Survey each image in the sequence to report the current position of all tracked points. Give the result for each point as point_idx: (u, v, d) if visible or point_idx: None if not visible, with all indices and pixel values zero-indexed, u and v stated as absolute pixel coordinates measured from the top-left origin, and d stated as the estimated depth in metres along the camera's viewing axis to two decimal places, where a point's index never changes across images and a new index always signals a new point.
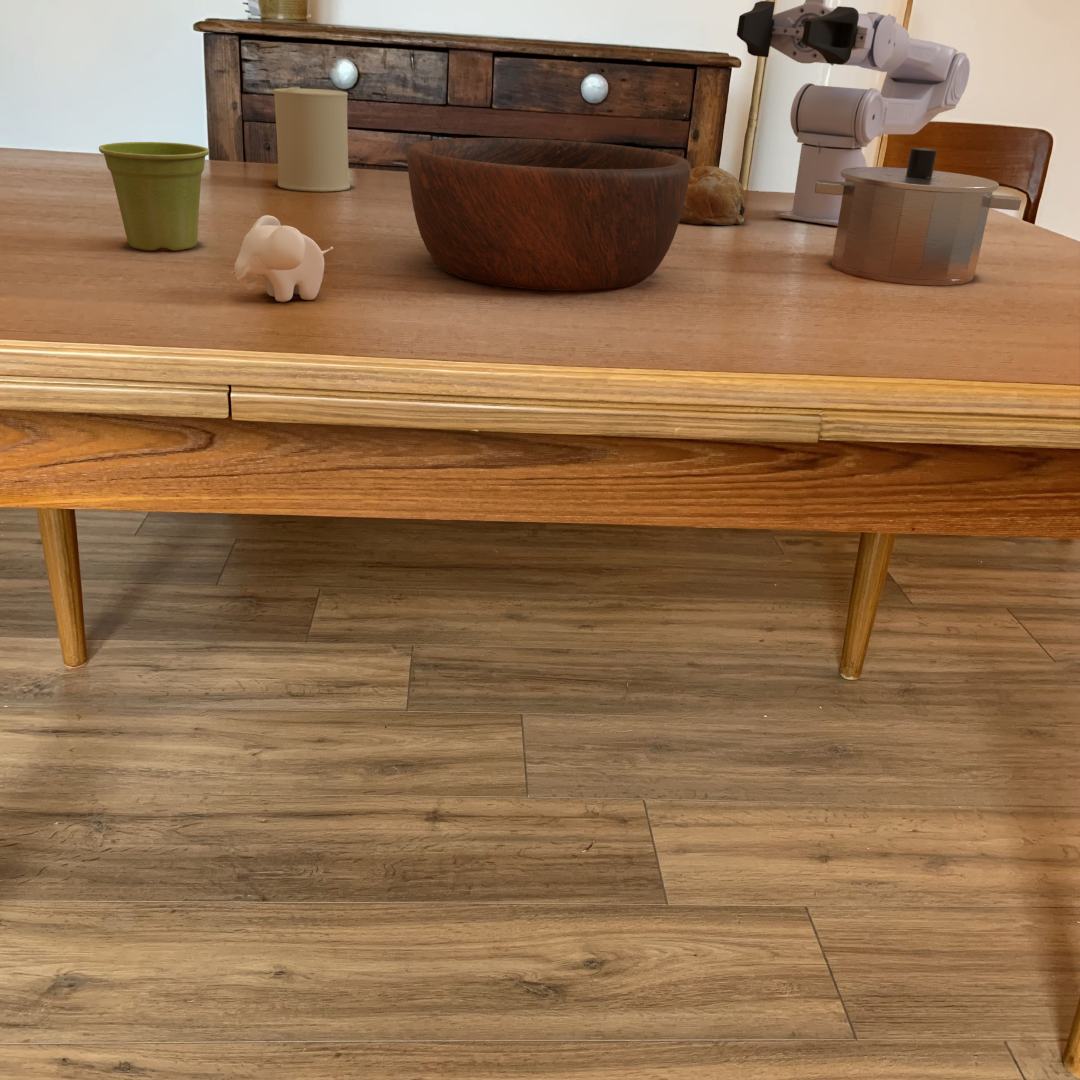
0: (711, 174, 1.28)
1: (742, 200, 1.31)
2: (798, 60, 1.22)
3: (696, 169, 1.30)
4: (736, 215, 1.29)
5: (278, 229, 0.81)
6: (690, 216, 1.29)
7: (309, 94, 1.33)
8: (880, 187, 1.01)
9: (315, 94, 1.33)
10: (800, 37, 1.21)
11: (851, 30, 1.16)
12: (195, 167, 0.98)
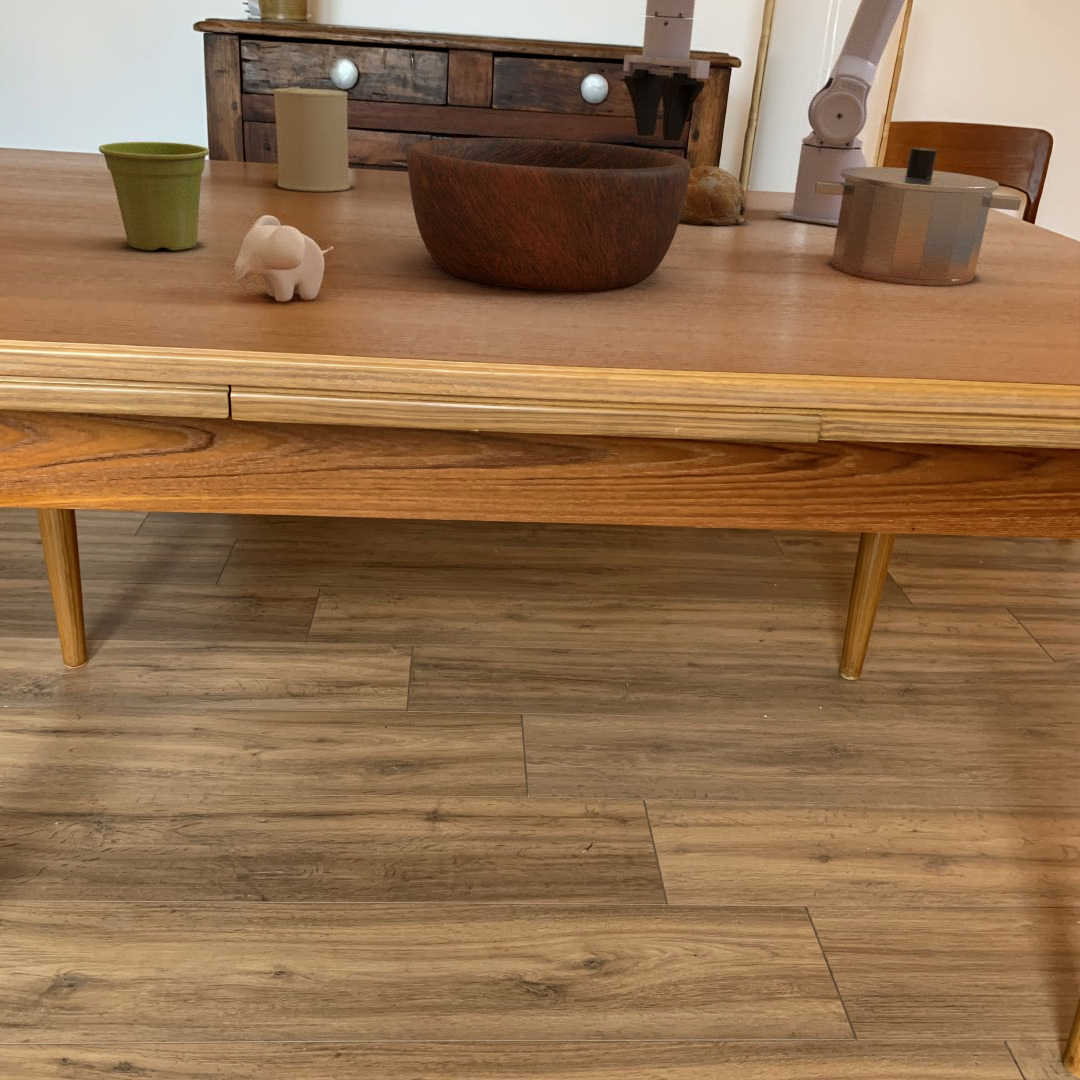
0: (711, 174, 1.28)
1: (742, 200, 1.31)
2: None
3: (696, 169, 1.30)
4: (736, 215, 1.29)
5: (278, 229, 0.81)
6: (690, 216, 1.29)
7: (309, 94, 1.33)
8: (880, 187, 1.01)
9: (315, 94, 1.33)
10: None
11: (683, 84, 1.30)
12: (195, 167, 0.98)
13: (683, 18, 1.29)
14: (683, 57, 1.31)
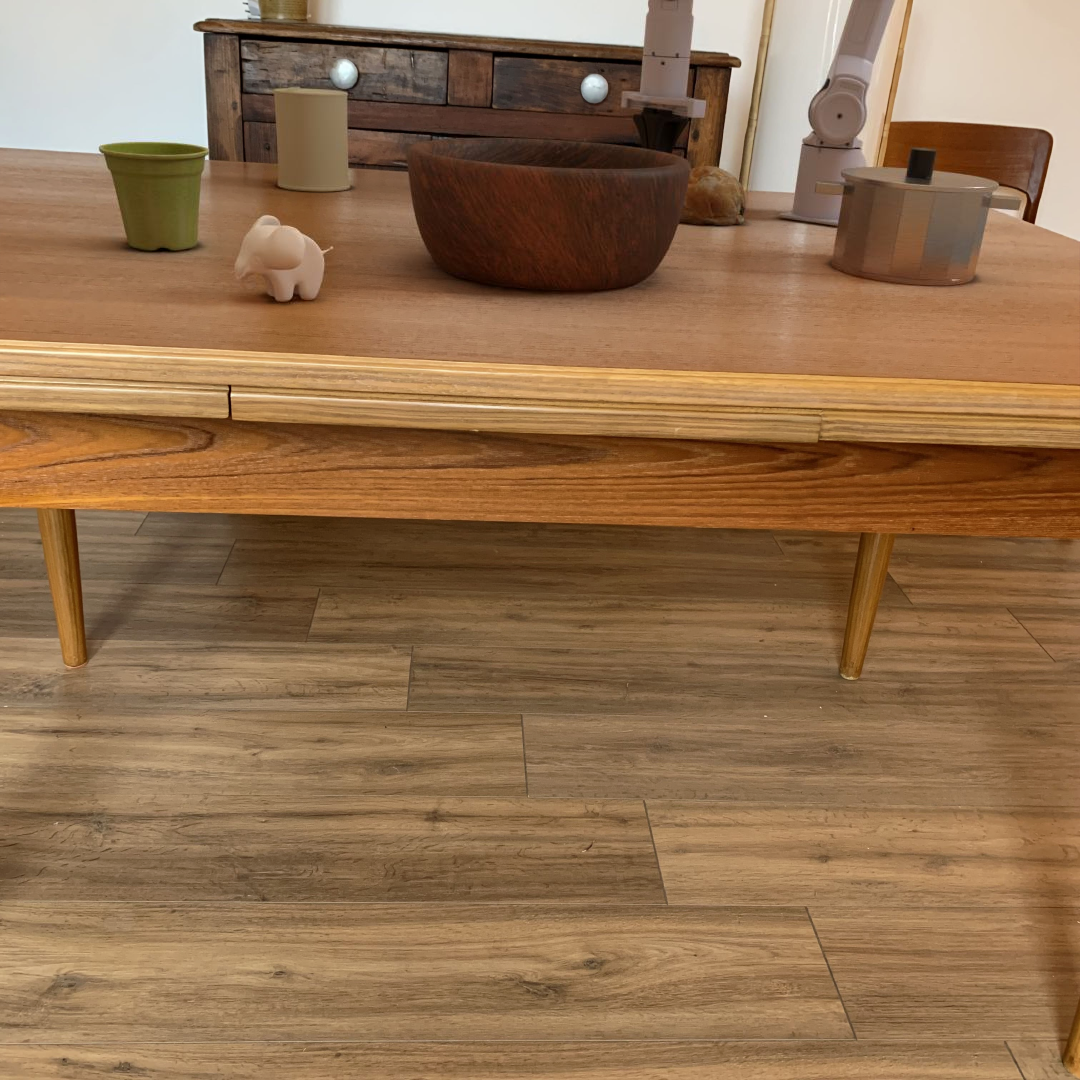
0: (711, 174, 1.28)
1: (742, 200, 1.31)
2: None
3: (696, 169, 1.30)
4: (736, 215, 1.29)
5: (278, 229, 0.81)
6: (690, 216, 1.29)
7: (309, 94, 1.33)
8: (880, 187, 1.01)
9: (315, 94, 1.33)
10: None
11: (668, 121, 1.34)
12: (195, 167, 0.98)
13: (680, 58, 1.31)
14: (680, 96, 1.33)
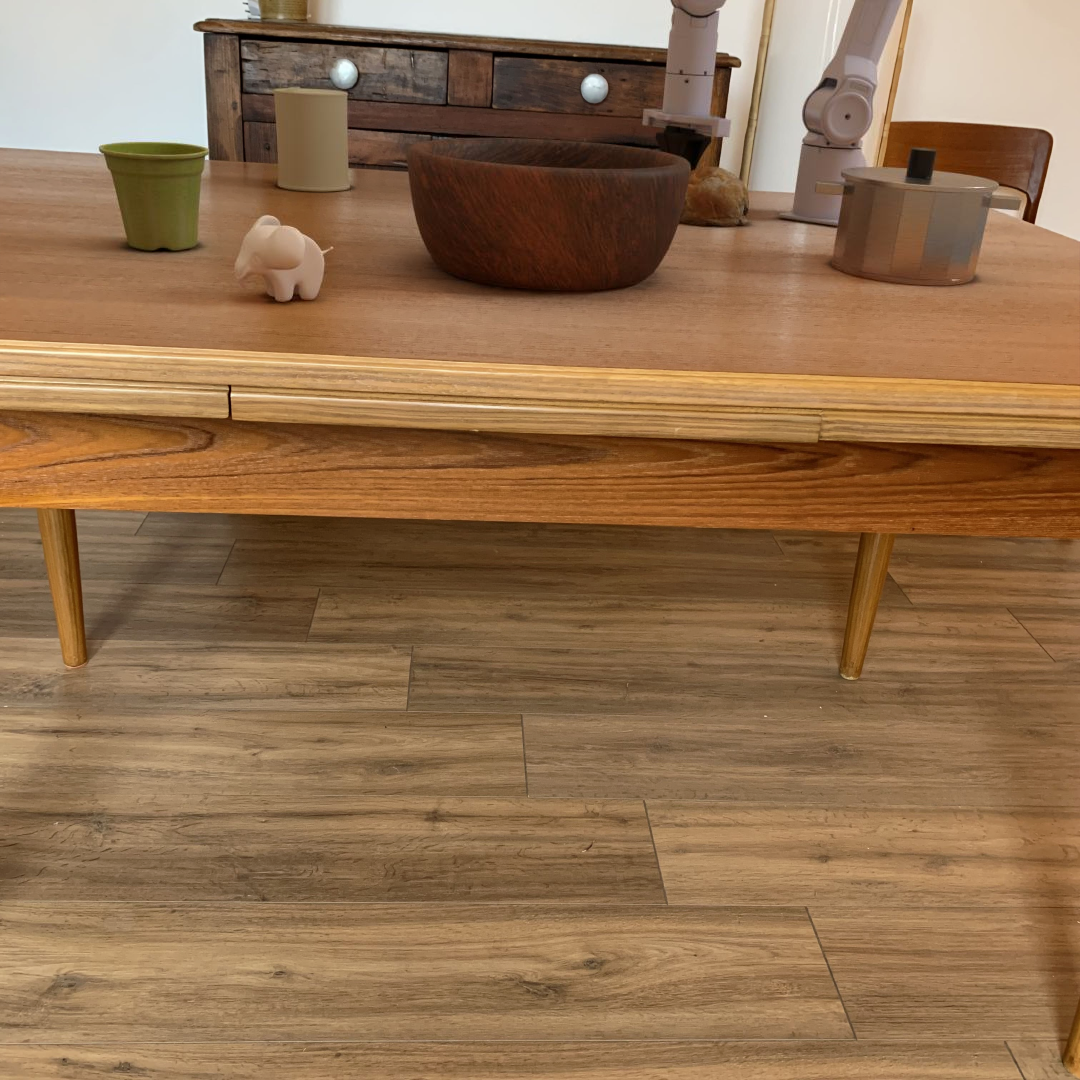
0: (714, 175, 1.28)
1: (745, 201, 1.30)
2: None
3: (699, 170, 1.30)
4: (740, 216, 1.29)
5: (278, 229, 0.81)
6: (694, 217, 1.28)
7: (309, 94, 1.33)
8: (880, 187, 1.01)
9: (315, 94, 1.33)
10: None
11: (691, 140, 1.31)
12: (195, 167, 0.98)
13: (704, 76, 1.28)
14: (704, 114, 1.30)
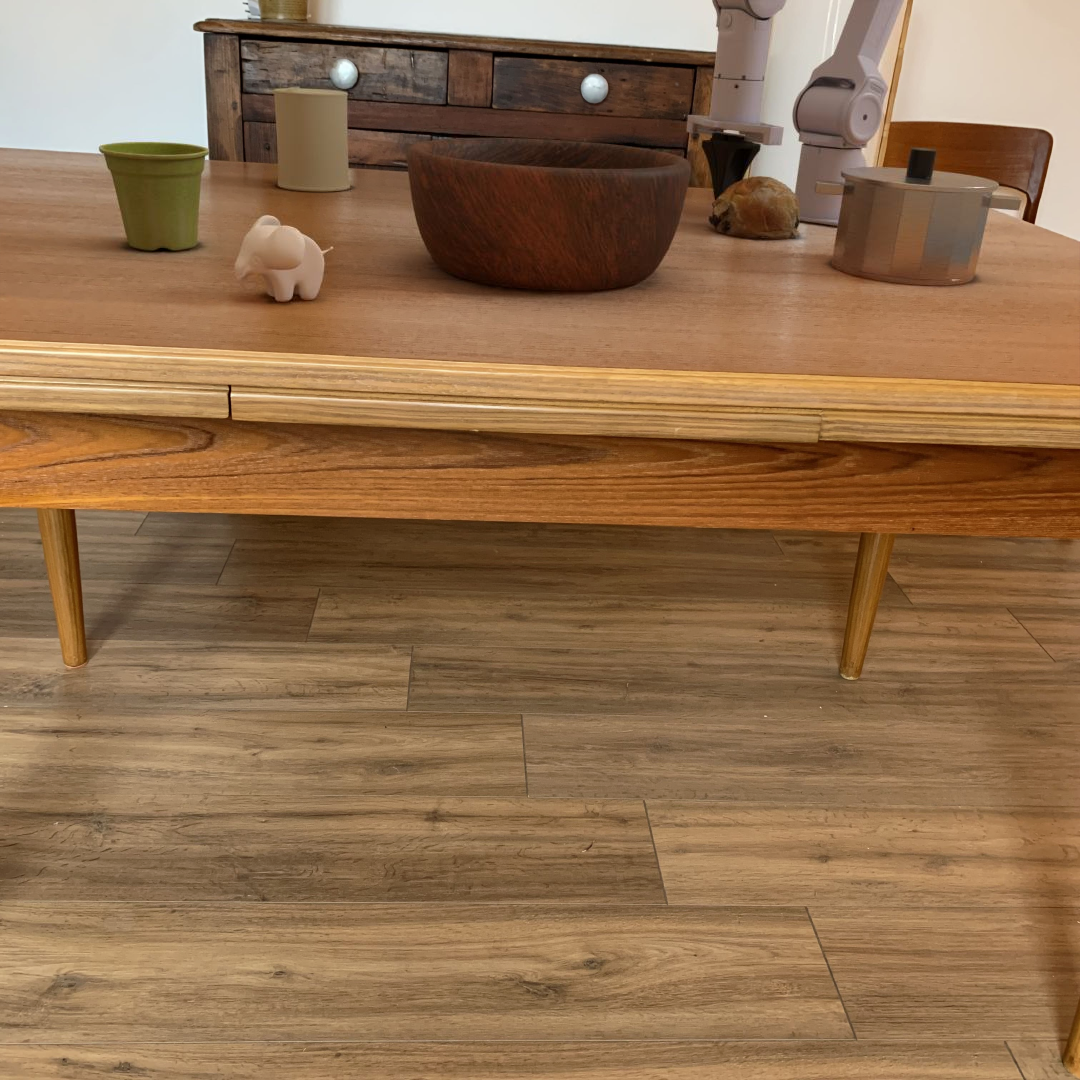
0: (766, 185, 1.21)
1: (797, 212, 1.24)
2: None
3: (749, 180, 1.23)
4: (792, 228, 1.22)
5: (278, 229, 0.81)
6: (744, 230, 1.22)
7: (309, 94, 1.33)
8: (880, 187, 1.01)
9: (315, 94, 1.33)
10: None
11: (739, 148, 1.24)
12: (195, 167, 0.98)
13: (755, 81, 1.21)
14: (753, 121, 1.23)
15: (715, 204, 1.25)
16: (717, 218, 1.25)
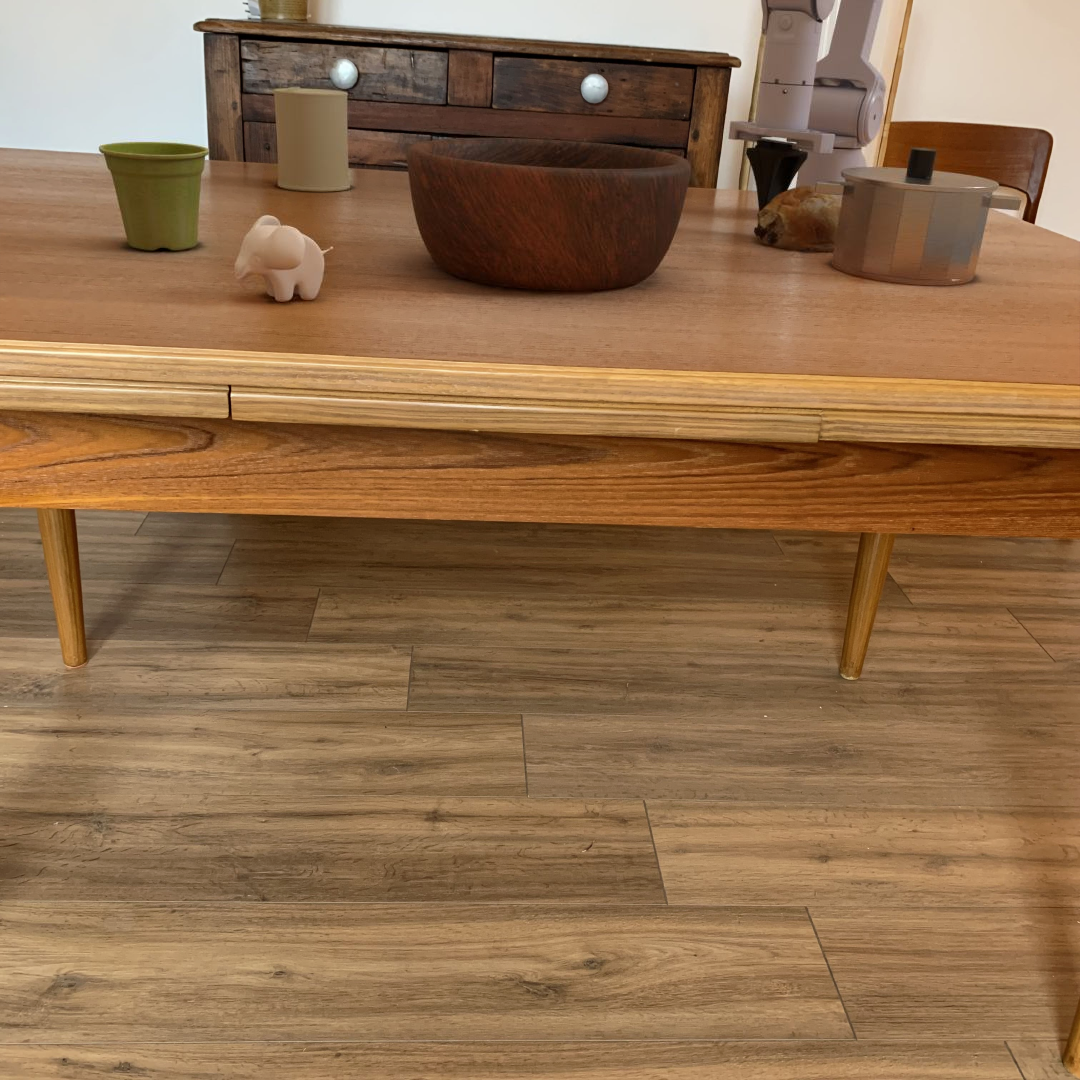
0: (815, 195, 1.16)
1: None
2: None
3: (797, 189, 1.17)
4: None
5: (278, 229, 0.81)
6: (792, 242, 1.16)
7: (309, 94, 1.33)
8: (880, 187, 1.01)
9: (315, 94, 1.33)
10: None
11: (786, 156, 1.18)
12: (195, 167, 0.98)
13: (804, 86, 1.15)
14: (802, 128, 1.17)
15: (761, 215, 1.19)
16: (763, 229, 1.19)
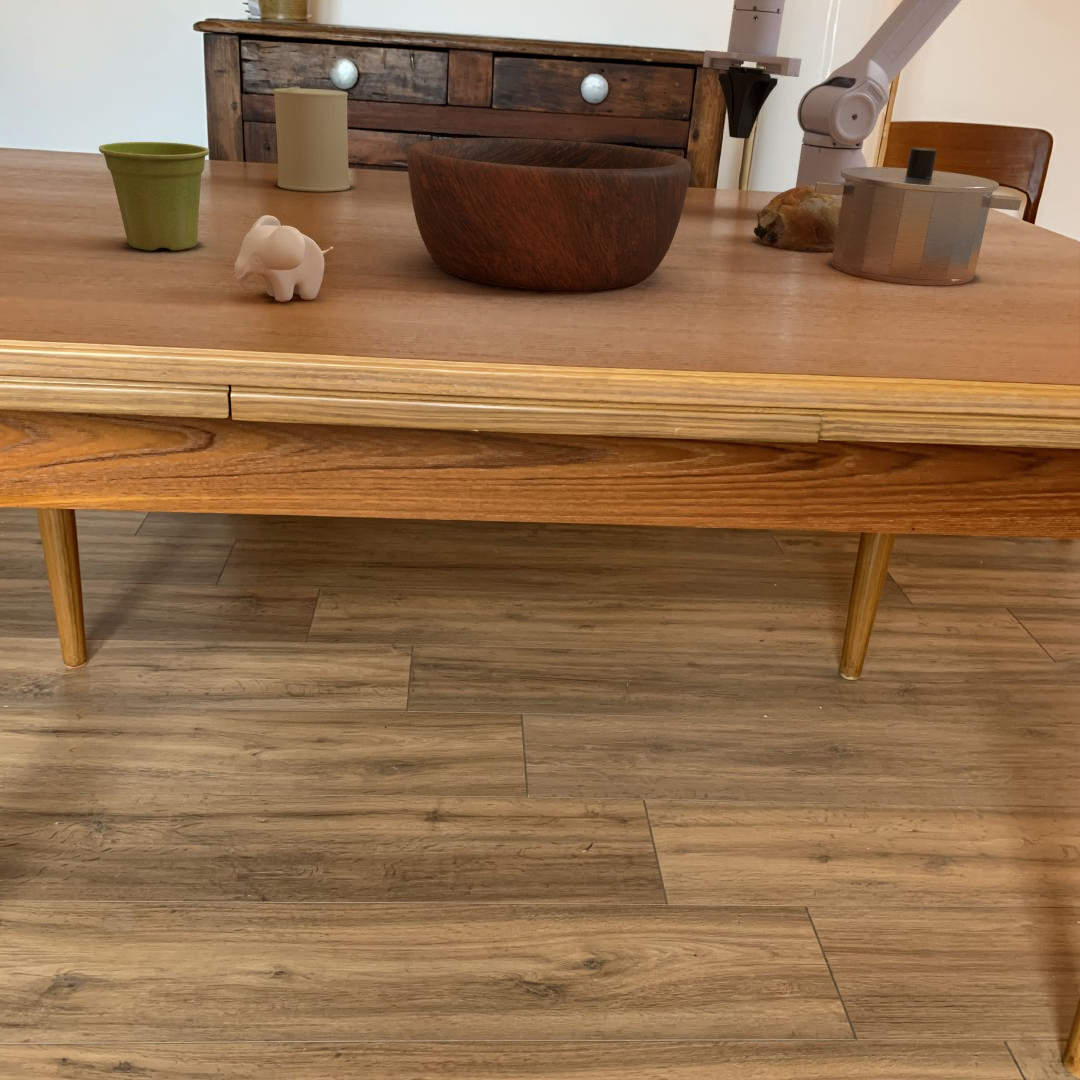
0: (815, 195, 1.16)
1: None
2: None
3: (797, 189, 1.17)
4: None
5: (278, 229, 0.81)
6: (792, 242, 1.16)
7: (309, 94, 1.33)
8: (880, 187, 1.01)
9: (315, 94, 1.33)
10: None
11: (757, 80, 1.26)
12: (195, 167, 0.98)
13: (774, 13, 1.23)
14: (771, 54, 1.25)
15: (761, 215, 1.19)
16: (763, 229, 1.19)
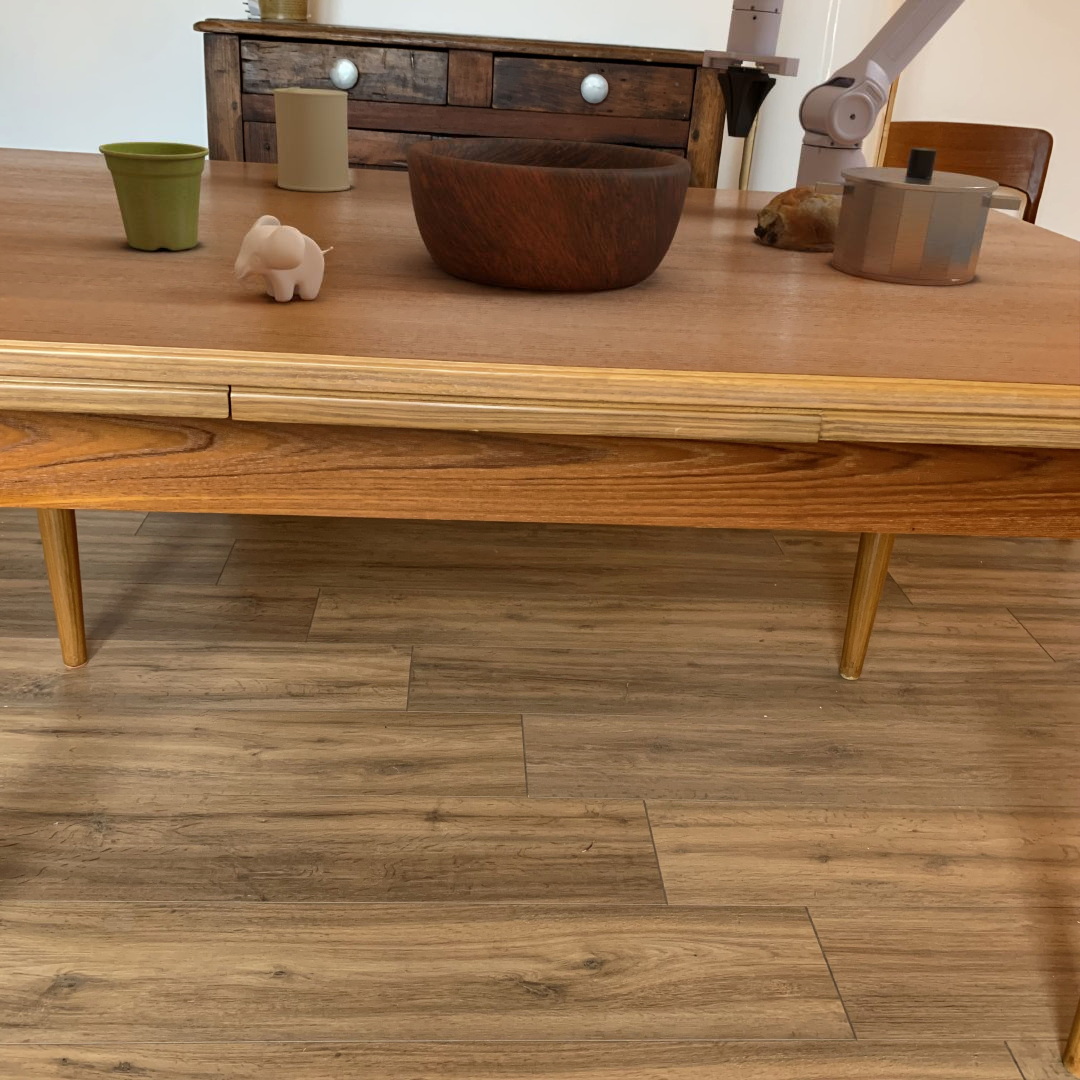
0: (815, 195, 1.16)
1: None
2: None
3: (797, 189, 1.17)
4: None
5: (278, 229, 0.81)
6: (792, 242, 1.16)
7: (309, 94, 1.33)
8: (880, 187, 1.01)
9: (315, 94, 1.33)
10: None
11: (756, 80, 1.27)
12: (195, 167, 0.98)
13: (773, 13, 1.24)
14: (770, 54, 1.26)
15: (761, 215, 1.19)
16: (763, 229, 1.19)
